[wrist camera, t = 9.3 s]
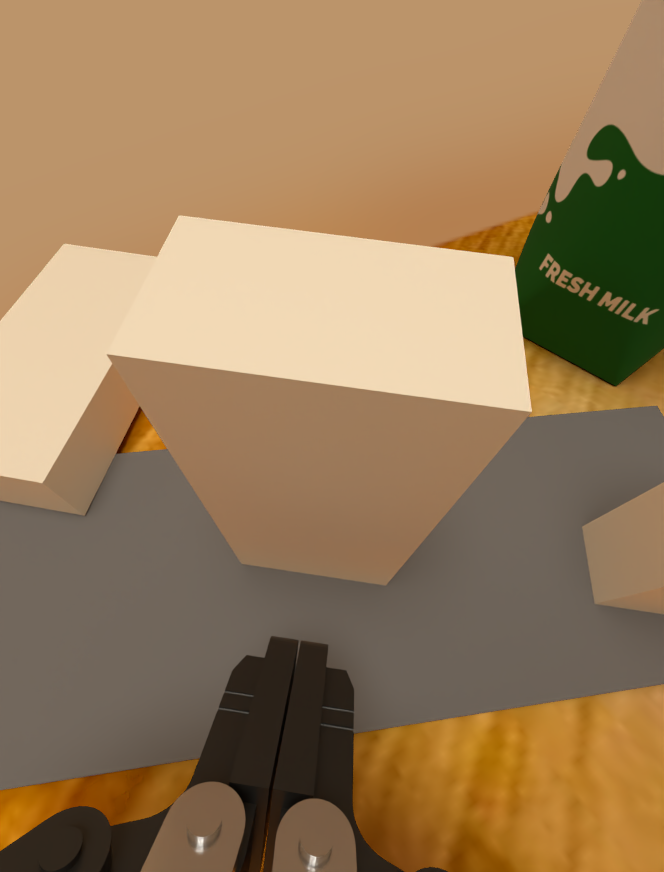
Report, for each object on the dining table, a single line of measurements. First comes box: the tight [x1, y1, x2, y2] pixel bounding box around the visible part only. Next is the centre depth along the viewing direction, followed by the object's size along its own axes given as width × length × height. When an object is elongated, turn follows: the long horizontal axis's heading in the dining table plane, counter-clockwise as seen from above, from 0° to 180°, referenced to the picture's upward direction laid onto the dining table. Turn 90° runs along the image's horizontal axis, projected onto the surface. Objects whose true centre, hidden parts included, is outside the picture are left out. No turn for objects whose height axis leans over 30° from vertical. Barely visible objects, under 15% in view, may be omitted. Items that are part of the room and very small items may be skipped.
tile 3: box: [0, 244, 157, 516], centre depth 19 cm, size 6×3×12 cm
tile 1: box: [107, 216, 532, 586], centre depth 11 cm, size 6×3×12 cm, turn 82°
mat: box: [0, 406, 664, 790], centre depth 16 cm, size 33×11×1 cm, turn 97°
